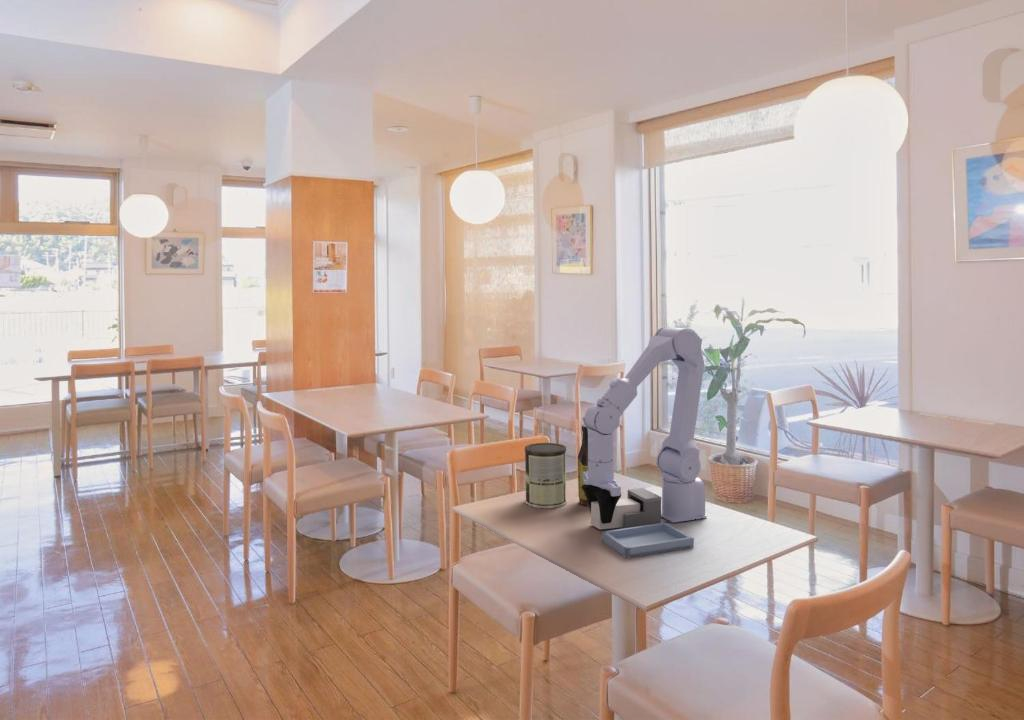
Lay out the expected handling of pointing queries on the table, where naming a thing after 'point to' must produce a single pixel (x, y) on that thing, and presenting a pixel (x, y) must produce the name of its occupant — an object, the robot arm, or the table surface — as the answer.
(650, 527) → the tray
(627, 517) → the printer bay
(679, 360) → the robot arm
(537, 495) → the coffee can
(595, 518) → the white block with knob
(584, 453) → the sauce bottle
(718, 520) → the table surface
